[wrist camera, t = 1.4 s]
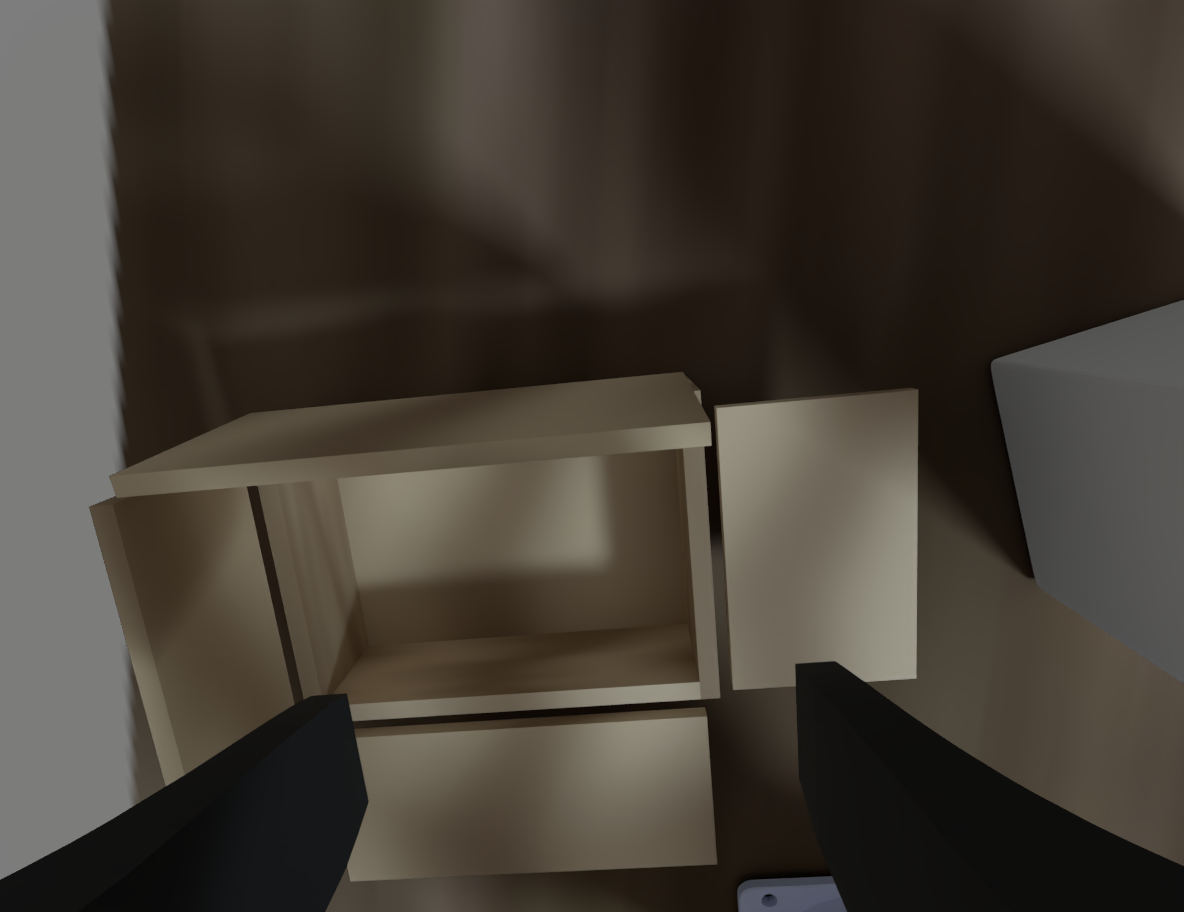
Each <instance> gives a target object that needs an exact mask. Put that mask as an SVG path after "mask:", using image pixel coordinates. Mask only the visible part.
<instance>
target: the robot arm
mask: <svg viewBox="0 0 1184 912" xmlns="http://www.w3.org/2000/svg"><path fill="white" fill-rule="evenodd" d="M795 676H796V704H797V731H798V759H799V779H800V783H801V786H802V790H803V793H804V797H805V800H806V804H807V807H808V811H809V814H810V817H811V821H812V824H813V827H814V830H815V834H816V837H817V840H818V844H819V846H820V848H821V851H822V853H823V856H824V858H825V861H826V863H827V865H828V868H829V870H830V873H831V875H832V876H826V877H804V878H781V879H759V880H748V881H745V882H743V883H742V884H741V885H740V886H739V888H738V891H737V898H738V912H1184V866H1182V865H1180V864H1178V863H1175V862H1173V861H1171V860H1169V859H1166V858H1164V857H1162V856H1160V855H1158V854H1155V853H1153V852H1151V851H1149V850H1147V849H1144V848H1142V847H1140V846H1138V845H1135V844H1133V843H1131V842H1129V841H1127V840H1125V839H1123V838H1121V837H1118V836H1116V835H1114V834H1112V833H1110V832H1108V831H1106V830H1104V829H1102V828H1100V827H1098V826H1096V825H1094V824H1092V823H1090V822H1088V821H1086V820H1084V819H1082V818H1080V817H1078V816H1077V815H1075V814H1073V813H1071V812H1069V811H1067V810H1065V809H1063V808H1061V807H1060V806H1058V805H1056V804H1054V803H1052V802H1050V801H1048V800H1046V799H1044V798H1043V797H1041V796H1039V795H1037V794H1035V793H1033V792H1031V791H1030V790H1028V789H1026V788H1024V787H1023V786H1021V785H1019V784H1017V783H1016V782H1014V781H1012V780H1010V779H1009V778H1007V777H1005V776H1004V775H1002V774H1000V773H999V772H997V771H995V770H994V769H992V768H991V767H989V766H987V765H986V764H984V763H983V762H981V761H979V760H978V759H976V758H974V757H973V756H971V755H970V754H968V753H966V752H965V751H963V750H962V749H960V748H958V747H957V746H955V745H954V744H952V743H951V742H949V741H948V740H946V739H945V738H943V737H942V736H940V735H939V734H937V733H936V732H934V731H933V730H931V729H930V728H928V727H927V726H925V725H924V724H923V723H921V722H920V721H918V720H917V719H915V718H914V717H912V716H911V715H910V714H908V713H907V712H905V711H904V710H903V709H901V708H900V707H898V706H897V705H896V704H894V703H893V702H891V701H890V700H889V699H887V698H886V697H885V696H883V695H882V694H880V693H879V692H878V691H876V690H875V689H874V688H872V687H871V686H869V685H868V684H867V683H865V682H864V681H863V680H861V679H860V678H859V677H857V676H856V675H854V674H853V673H852V672H850V671H849V670H848V669H846V668H845V667H843V666H842V665H840V664H839V663H837V662H836V661H828V662H813V663H798V664H795ZM368 803H369V800H368V795H367V790H366V785H365V780H364V775H363V770H362V765H361V761H360V756H359V751H358V746H357V741H356V736H355V731H354V726H353V721H352V716H351V711H350V706H349V701H348V696H347V693H345V694H330V695H315V696H310V697H308V698H306V699H304V700H302V701H300V702H298V703H296V704H295V705H293V706H291V707H289V708H288V709H286V710H284V711H283V712H281V713H280V714H278V715H276V716H275V717H273V718H272V719H270V720H268V721H267V722H265V723H264V724H262V725H261V726H259V727H258V728H256V729H255V730H253V731H251V732H250V733H248V734H247V735H245V736H244V737H242V738H241V739H239V740H238V741H236V742H235V743H233V744H232V745H230V746H228V747H227V748H225V749H224V750H222V751H221V752H219V753H218V754H216V755H215V756H213V757H212V758H210V759H209V760H207V761H205V762H204V763H202V764H201V765H199V766H198V767H196V768H195V769H193V770H192V771H190V772H188V773H187V774H185V775H184V776H182V777H180V778H179V779H177V780H176V781H174V782H172V783H171V784H169V785H167V786H166V787H164V788H163V789H161V790H159V791H158V792H156V793H154V794H153V795H151V796H150V797H148V798H146V799H145V800H143V801H141V802H140V803H138V804H136V805H135V806H133V807H132V808H130V809H128V810H127V811H125V812H123V813H122V814H120V815H119V816H117V817H115V818H114V819H112V820H110V821H108V822H107V823H105V824H103V825H102V826H100V827H98V828H96V829H95V830H93V831H91V832H89V833H88V834H86V835H84V836H82V837H80V838H79V839H77V840H75V841H73V842H71V843H70V844H68V845H66V846H64V847H62V848H60V849H58V850H57V851H55V852H53V853H51V854H49V855H47V856H45V857H43V858H41V859H39V860H38V861H36V862H34V863H32V864H30V865H28V866H26V867H24V868H23V869H21V870H19V871H17V872H15V873H13V874H11V875H9V876H7V877H5V878H3V879H1V880H0V912H325V911H326V909H327V907H328V905H329V903H330V901H331V899H332V896H333V894H334V892H335V890H336V888H337V886H338V884H339V882H340V880H341V878H342V875H343V873H344V871H345V869H346V867H347V864H348V861H349V859H350V856H351V853H352V850H353V848H354V845H355V842H356V839H357V836H358V833H359V830H360V827H361V824H362V821H363V818H364V815H365V812H366V809H367V806H368ZM767 894H772V896H769V897H765V895H767Z"/></svg>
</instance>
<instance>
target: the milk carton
mask: <svg viewBox="0 0 1184 912" xmlns="http://www.w3.org/2000/svg"><path fill="white" fill-rule="evenodd" d="M991 372H992V378H993V383H994V388H995V393H996V398H997V403H998V408H999V412H1000V417H1001V422H1002V427H1003V431H1004V436H1005V441H1006V445H1007V450H1008V455H1009V460H1010V464H1011V469H1012V474H1013V479H1014V483H1015V488H1016V493H1017V498H1018V502H1019V507H1020V512H1021V517H1022V521H1023V526H1024V531H1025V536H1026V540H1027V545H1028V550H1029V554H1030V559H1031V564H1032V568H1033V573H1034V577H1035V580H1036V583H1037V585H1038V586H1039V588H1041V589H1042V590H1043V591H1045V592H1046V593H1048V594H1049V595H1051V596H1052V597H1054V598H1055V599H1057V600H1058V601H1060V602H1061V603H1063V604H1064V605H1066V606H1067V607H1069V608H1070V609H1072V610H1073V611H1075V612H1076V613H1078V614H1079V615H1081V616H1082V617H1084V618H1085V619H1087V620H1088V621H1090V622H1091V623H1093V624H1094V625H1096V626H1097V627H1099V628H1100V629H1102V630H1103V631H1105V632H1106V633H1108V634H1109V635H1111V636H1112V637H1114V638H1115V639H1117V640H1118V641H1120V642H1121V643H1123V644H1124V645H1126V646H1127V647H1129V648H1130V649H1132V650H1133V651H1135V652H1136V653H1138V654H1139V655H1141V656H1142V657H1144V658H1145V659H1147V660H1148V661H1150V662H1151V663H1153V664H1154V665H1156V666H1157V667H1159V668H1160V669H1162V670H1163V671H1165V672H1166V673H1168V674H1169V675H1171V676H1173V677H1174V678H1176V679H1177V680H1179V681H1180V682H1182V683H1183V684H1184V300H1182V301H1178V302H1175V303H1172V304H1169V305H1166V306H1162V307H1159V308H1156V309H1153V310H1150V311H1146V312H1143V313H1140V314H1137V315H1134V316H1131V317H1127V318H1124V319H1121V320H1118V321H1115V322H1111V323H1108V324H1105V325H1102V326H1099V327H1095V328H1092V329H1089V330H1086V331H1083V332H1080V333H1076V334H1073V335H1070V336H1067V337H1064V338H1060V339H1057V340H1054V341H1051V342H1048V343H1044V344H1041V345H1038V346H1035V347H1032V348H1029V349H1025V350H1022V351H1019V352H1016V353H1013V354H1009V355H1006V356H1003V357H1000V358H997V359H995V360H993V361H992V363H991Z"/></svg>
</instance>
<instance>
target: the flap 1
mask: <svg viewBox="0 0 1184 912" xmlns="http://www.w3.org/2000/svg"><path fill="white" fill-rule="evenodd" d="M89 508H90V512H91V515H92V519H93V523H94V527H95V530H96V534H97V537H98V541H99V545H100V548H101V552H102V556H103V559H104V563H105V566H106V570H107V573H108V577H109V581H110V584H111V588H112V592H113V595H114V599H115V603H116V606H117V610H118V614H119V617H120V621H121V625H122V628H123V632H124V636H125V639H126V643H127V646H128V650H129V654H130V657H131V661H132V665H133V668H134V672H135V676H136V679H137V683H138V686H139V690H140V694H141V697H142V701H143V705H144V708H145V712H146V716H147V719H148V723H149V726H150V730H151V734H152V737H153V741H154V745H155V748H156V752H157V756H158V759H159V763H160V766H161V770H162V774H163V777H164V781H165V785H166V786H167V785H169V784H171V783H172V782H174V781H176V780H177V779H179V778H180V777H182V776H184V775H185V774H187V773H188V772H190V771H192V770H193V769H195V768H196V767H198V766H199V765H201V764H202V763H204V762H205V761H207V760H209V759H210V758H212V757H213V756H215V755H216V754H218V753H219V752H221V751H222V750H224V749H225V748H227V747H228V746H230V745H232V744H233V743H235V742H236V741H238V740H239V739H241V738H242V737H244V736H245V735H247V734H248V733H250V732H251V731H253V730H255V729H256V728H258V727H259V726H261V725H262V724H264V723H265V722H267V721H268V720H270V719H272V718H273V717H275V716H276V715H278V714H280V713H281V712H283V711H284V710H286V709H288V708H289V707H291V706H293V705H295V704H294V700H293V695H292V691H291V686H290V681H289V677H288V672H287V668H286V663H285V659H284V654H283V650H282V645H281V641H280V636H279V631H278V627H277V622H276V618H275V613H274V609H273V604H272V600H271V595H270V590H269V586H268V581H267V577H266V572H265V568H264V563H263V559H262V554H261V550H260V545H259V540H258V536H257V531H256V527H255V522H254V518H253V513H252V509H251V504H250V500H249V495H248V490H247V487H235V488H224V489H212V490H201V491H190V492H178V493H167V494H155V495H144V496H133V497H121V498H117V497H116V496H115V497H113V498H110V499H108V500H105V501H103V502H100V503H98V504H95V505H93V506H90V507H89Z"/></svg>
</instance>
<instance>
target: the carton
mask: <svg viewBox="0 0 1184 912" xmlns="http://www.w3.org/2000/svg"><path fill="white" fill-rule="evenodd" d="M686 378H687V380H688V382H689V384H690V385H691V387H692V389H693V391H694V393H695V395H696V396H697V398H698V400H699V402H700V404H701V390H700V389H699V388H698V387H697V386H696V385H695V384H694V383H693V382H692V381H691V380H690V379H689V378H688V377H687V376H686ZM701 406H702V405H701ZM714 414H715V430H716V447H717V464H718V480H719V497H720V514H721V530H722V547H723V564H724V580H725V597H726V613H727V630H728V647H729V663H730V680H731V684H732V688H733V690H742V689H758V688H774V687H790V686H796V676H795V664H798V663H813V662H828V661H836V662H837V663H839V664H840V665H842V666H843V667H845V668H846V669H848V670H849V671H850V672H852V673H853V674H854V675H856V676H857V677H859V678H860V679H861V680H863V681H864V682H869V681H884V680H900V679H916V643H917V504H918V389H914V388H901V389H890V390H880V391H869V392H858V393H847V394H836V395H825V396H814V397H803V398H792V399H781V400H770V401H760V402H749V403H738V404H727V405H716V406H714ZM258 490H259V495H260V500H261V504H262V509H263V513H264V518H265V523H266V527H267V532H268V537H269V541H270V546H271V550H272V555H273V560H274V564H275V569H276V574H277V578H278V583H279V587H280V592H281V597H282V601H283V606H284V611H285V615H286V620H287V624H288V629H289V634H290V638H291V643H292V648H293V652H294V657H295V661H296V666H297V671H298V675H299V680H300V685H301V689H302V694H303V698H304V699H306V698H308V697H310V696H315V695H330V694H345V693H347V696H348V701H349V706H350V711H351V716H352V721H364V720H380V719H396V718H411V717H427V716H443V715H459V714H475V713H491V712H507V711H523V710H539V709H555V708H571V707H587V706H603V705H619V704H635V703H650V702H666V701H682V700H698V699H714V698H720V685H719V669H718V654H717V638H716V623H715V607H714V592H713V576H712V560H711V545H710V529H709V514H708V498H707V483H706V467H705V451H704V446H703V447H691V448H680V449H668V450H657V451H646V452H634V453H623V454H611V455H600V456H589V457H577V458H566V459H554V460H543V461H532V462H520V463H509V464H497V465H486V466H475V467H463V468H452V469H440V470H429V471H418V472H406V473H395V474H383V475H372V476H361V477H349V478H338V479H326V480H315V481H304V482H292V483H281V484H269V485H258ZM354 731H355V736H356V741H357V746H358V751H359V756H360V761H361V765H362V770H363V775H364V780H365V785H366V790H367V795H368V800H369V803H368V806H367V809H366V812H365V815H364V818H363V821H362V824H361V827H360V830H359V833H358V836H357V839H356V842H355V845H354V848H353V850H352V853H351V856H350V859H349V861H348V864H347V867H348V872H349V876H350V881H370V880H391V879H413V878H434V877H456V876H477V875H499V874H520V873H542V872H564V871H585V870H607V869H628V868H650V867H671V866H693V865H715V864H717V854H716V839H715V825H714V810H713V796H712V782H711V767H710V753H709V739H708V724H707V714H706V709H705V707H699V708H683V709H667V710H651V711H634V712H618V713H602V714H586V715H570V716H554V717H538V718H521V719H505V720H489V721H473V722H457V723H441V724H425V725H408V726H392V727H376V728H360V729H354Z"/></svg>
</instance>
